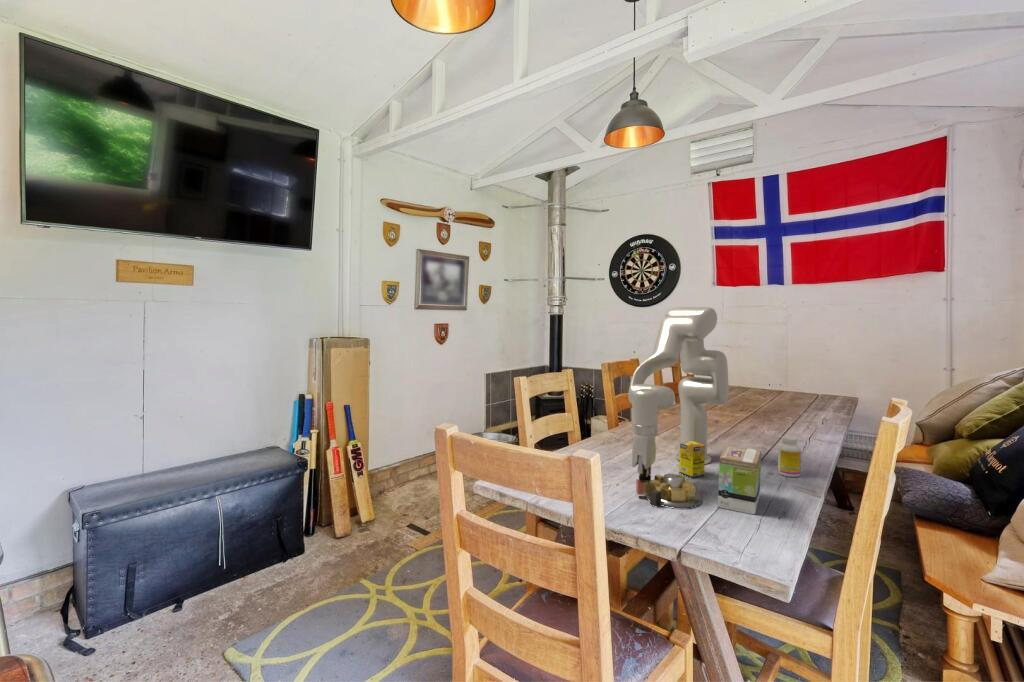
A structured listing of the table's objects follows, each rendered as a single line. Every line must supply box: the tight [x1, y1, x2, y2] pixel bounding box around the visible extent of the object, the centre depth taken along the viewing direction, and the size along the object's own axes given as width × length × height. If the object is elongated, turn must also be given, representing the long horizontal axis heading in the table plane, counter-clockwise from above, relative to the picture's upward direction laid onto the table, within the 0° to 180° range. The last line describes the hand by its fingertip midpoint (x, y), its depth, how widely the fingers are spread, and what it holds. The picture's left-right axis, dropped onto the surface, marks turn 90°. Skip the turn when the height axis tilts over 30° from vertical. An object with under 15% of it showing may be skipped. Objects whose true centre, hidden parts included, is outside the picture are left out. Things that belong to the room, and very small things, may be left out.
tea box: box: [717, 445, 762, 515], centre depth 134 cm, size 15×10×15 cm
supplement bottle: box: [777, 435, 802, 478], centre depth 158 cm, size 7×7×13 cm
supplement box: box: [678, 441, 706, 479], centre depth 158 cm, size 6×6×11 cm
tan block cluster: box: [635, 474, 696, 502], centre depth 138 cm, size 16×12×4 cm
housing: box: [644, 473, 702, 509], centre depth 138 cm, size 16×18×6 cm
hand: (644, 487), depth 142 cm, fingers closed
